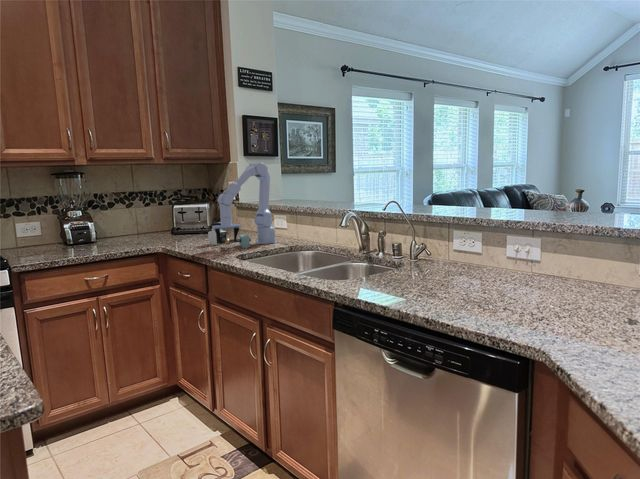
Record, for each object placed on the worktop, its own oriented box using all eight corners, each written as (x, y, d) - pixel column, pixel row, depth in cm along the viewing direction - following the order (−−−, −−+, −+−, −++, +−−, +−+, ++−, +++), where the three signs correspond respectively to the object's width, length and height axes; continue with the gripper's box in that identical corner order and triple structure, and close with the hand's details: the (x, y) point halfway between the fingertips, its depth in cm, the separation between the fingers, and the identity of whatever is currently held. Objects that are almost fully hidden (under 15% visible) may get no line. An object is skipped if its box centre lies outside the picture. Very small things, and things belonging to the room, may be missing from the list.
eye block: (247, 244, 254) (246, 234, 253) (249, 247, 244) (249, 237, 243) (240, 244, 253) (239, 234, 252) (242, 248, 243) (241, 237, 242)
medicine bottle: (217, 245, 254) (215, 223, 252) (208, 244, 258) (207, 222, 256) (227, 243, 259) (225, 222, 257) (218, 242, 263) (217, 221, 261)
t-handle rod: (250, 240, 254) (249, 235, 253) (252, 243, 245) (251, 238, 244) (224, 242, 250) (224, 237, 250) (226, 245, 241) (225, 240, 241)
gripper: (239, 215, 246) (240, 240, 249) (211, 216, 243) (213, 242, 245) (240, 216, 240) (242, 242, 242) (212, 218, 236) (213, 244, 238)
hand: (227, 242), depth 243 cm, fingers open, 7 cm apart
